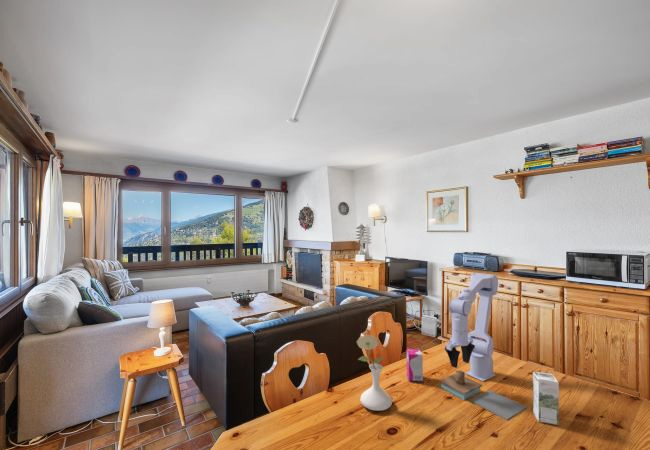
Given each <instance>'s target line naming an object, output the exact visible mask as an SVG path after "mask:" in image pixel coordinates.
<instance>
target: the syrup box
mask: <svg viewBox="0 0 650 450" xmlns="http://www.w3.org/2000/svg"><path fill="white" fill-rule="evenodd" d="M559 392H560V382H559V381H558V380H557V378H556V377H555V375H554V374H552V373H546V372H539V371H532V413H533V415H534V416H535V418H536V420H537V421H538V423H542V424H547V425H554V426H559V425H560V423H559V422H560V421H559V420H560V418H559V416H560V413H559V412H560V409H559V405H560V402H559V400H560V393H559Z"/></svg>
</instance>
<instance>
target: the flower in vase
mask: <svg viewBox="0 0 650 450" xmlns="http://www.w3.org/2000/svg"><path fill="white" fill-rule="evenodd" d="M356 344H357V346H358V347H359V348H360V349H362V350H363V349H364V350H365V351H367V356H368V357H367V356H365V355H362V356H360V357H359V358H358V359H357V360H358V361H361V362H365V363H366V362H368V361H370V363H371V364H369V365H368V368H369V369H370V370H371V376H372V385H371V386H370V387H369V388H368V389H366V390H364V392H363V393H362V394H361V396H360V397H359V399H360V401H359V402H360V403H361V404H362V406H364V407H365V408H366V409H368V410H371V411H378V412H380V411H381V412H382V411H386V410H388V409H389V408H390V407H392V404H393V399H392V397H391V395H389V394H388V392H386V391H385V390H384V389H382V387H381V386H380V375H381V372H382V370H383V368H384V366H383V365H382V364H380V362H382V360H383V358H384V356H380V357H376V358H374V360H373V361H372V359H371V358H370V350H374V349H376V348H377V347H378V345H379V344H380V343H379V341H378V338H377V337H376V336H373V335H372V334H370V335H369V334H363V335H361V336H359V337H358V339H357V340H356Z"/></svg>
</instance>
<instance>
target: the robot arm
mask: <svg viewBox="0 0 650 450" xmlns="http://www.w3.org/2000/svg"><path fill="white" fill-rule="evenodd" d="M498 289H499V278H498V277H497V275H496V274H489V273H487V274H486V273H479V272H473V273H472V274H471V275H470V284H469V285H468V287H467V288H464V289H462V290H461V292H460V293H459V294H458V296H457V297H456V298H452V299H451V300H450V301H449V305H448V309H449V315H450V317H451V337H450V338H449V341H448V342H447V343H446V344H445V346H444V350H445V352H446V354H447V356H448V358H449V363H450V367H452V368H455V369H456V368H458V365H459V364H458V363H459V356H460V354H461V357H462V361H463V362H464V363H467V364H469V366H470V367H469V369H470V370H469V371H466V372H465V375H468V376H470V377H472V378H475V379H476V380H479V381H481V382H485V381H487V380H489V379H492V378H493V377H496V374H495V373H494V360H493V357H492V356H493V354H494V339H493V338H492V337H491V336H490V334H489V333H488V329H489V321H490V315H491V309H492V301H493V298H494V297H493V296H496V295H497V293H498ZM477 294H479V300H478V307H477V312H476V313H477V314H476V319H475V327H474V330H472V331H470V332H469V328H468V327H469V323H468V320H469V319H468V318H469V314H470V313H471V310H472V305H473V304H474V302H475V301H476V299H477ZM459 347H460V350H461V351H460V350H458V349H457V348H459Z"/></svg>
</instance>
